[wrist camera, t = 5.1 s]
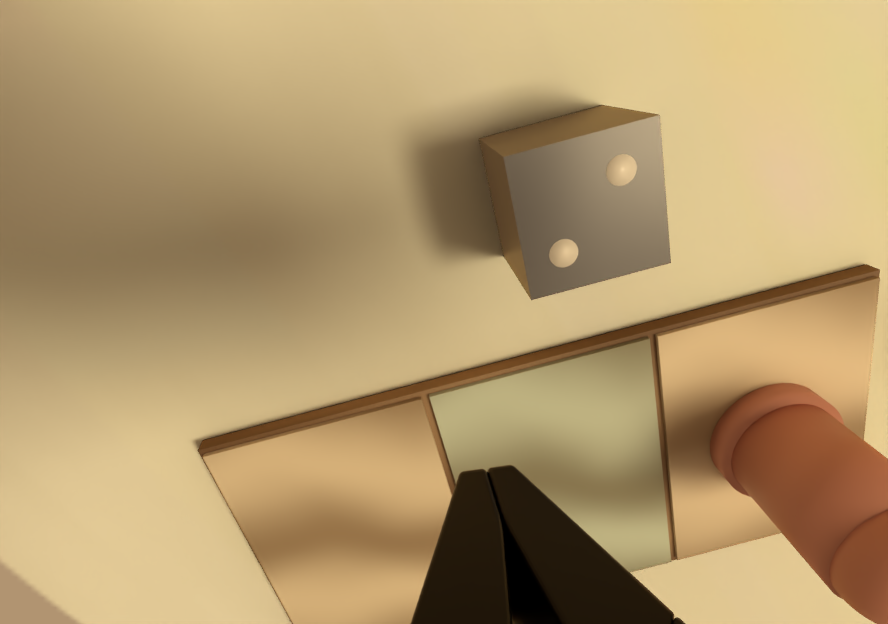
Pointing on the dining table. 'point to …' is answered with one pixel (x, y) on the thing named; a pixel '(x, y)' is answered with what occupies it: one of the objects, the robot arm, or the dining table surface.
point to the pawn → (812, 487)
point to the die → (579, 198)
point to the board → (540, 446)
